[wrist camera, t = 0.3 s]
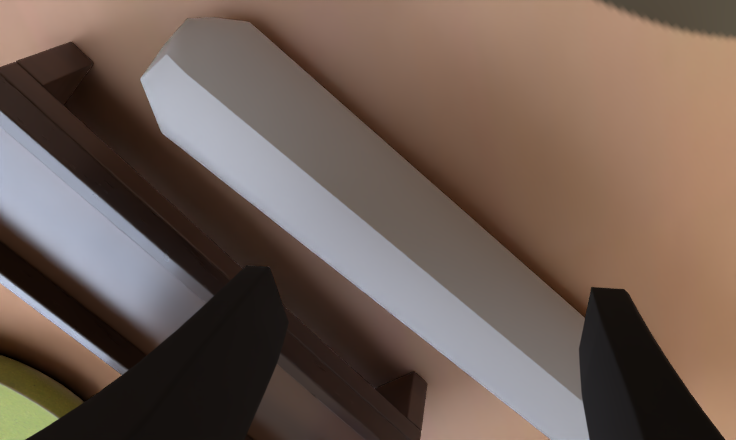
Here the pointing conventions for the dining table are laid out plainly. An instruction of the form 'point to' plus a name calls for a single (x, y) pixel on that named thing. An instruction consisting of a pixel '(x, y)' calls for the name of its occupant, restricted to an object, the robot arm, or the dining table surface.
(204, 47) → the grey octagonal prism
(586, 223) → the dining table surface
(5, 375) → the saucer
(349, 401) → the dark brown tray
